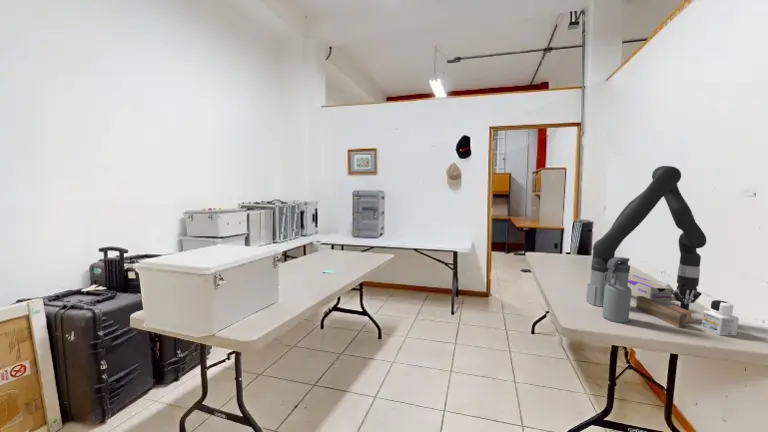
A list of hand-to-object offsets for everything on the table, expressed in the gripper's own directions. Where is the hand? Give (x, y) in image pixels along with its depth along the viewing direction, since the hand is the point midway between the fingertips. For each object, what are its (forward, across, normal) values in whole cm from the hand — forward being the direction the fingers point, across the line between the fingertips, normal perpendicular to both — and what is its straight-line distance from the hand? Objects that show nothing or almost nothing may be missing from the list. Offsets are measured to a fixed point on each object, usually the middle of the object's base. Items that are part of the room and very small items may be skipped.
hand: (684, 311), depth 159 cm
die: (+3, +16, +30) cm, 34 cm away
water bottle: (+3, -36, -4) cm, 36 cm away
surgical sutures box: (+4, -2, +24) cm, 24 cm away
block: (+3, -6, -1) cm, 7 cm away
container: (+3, +1, -15) cm, 15 cm away
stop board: (+3, -12, 0) cm, 12 cm away
